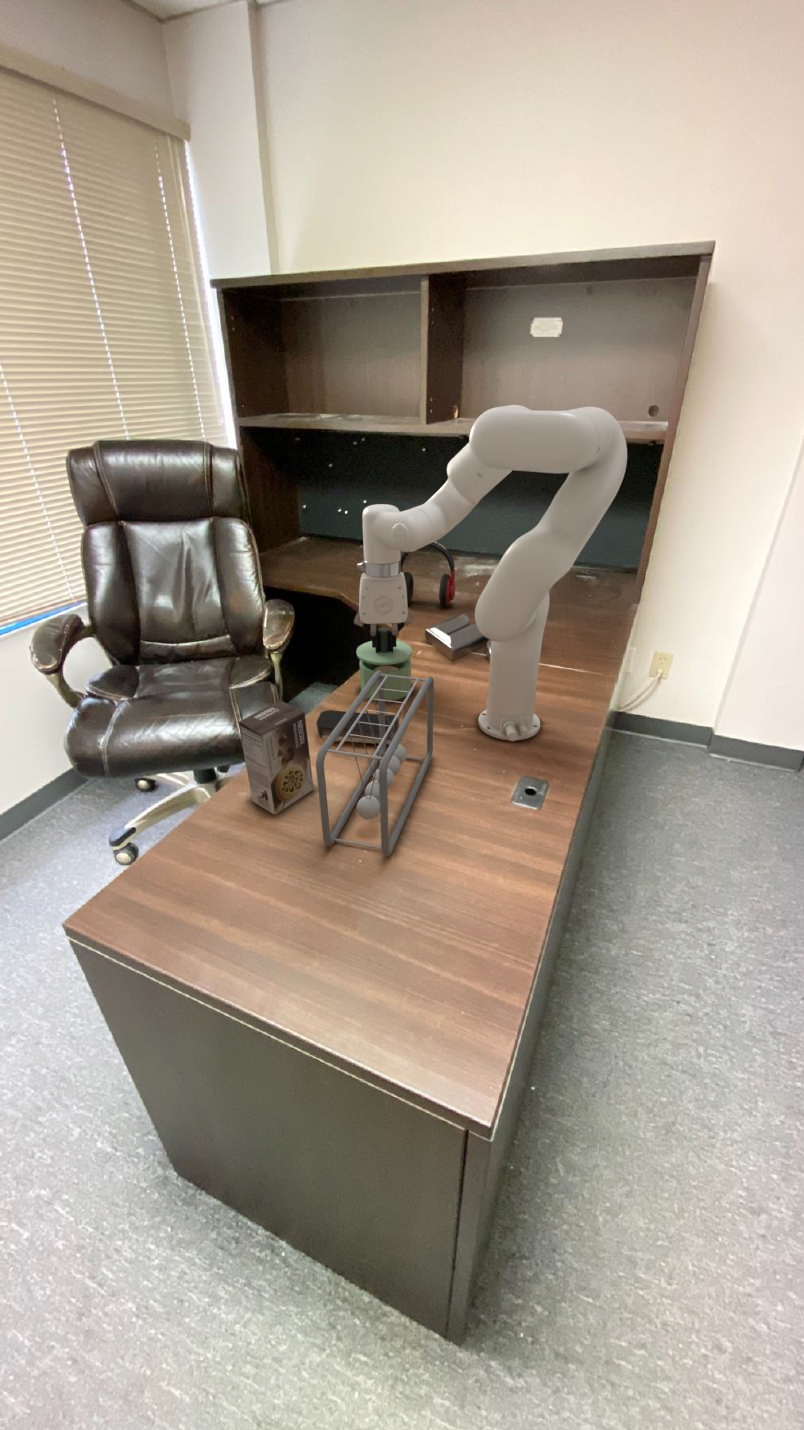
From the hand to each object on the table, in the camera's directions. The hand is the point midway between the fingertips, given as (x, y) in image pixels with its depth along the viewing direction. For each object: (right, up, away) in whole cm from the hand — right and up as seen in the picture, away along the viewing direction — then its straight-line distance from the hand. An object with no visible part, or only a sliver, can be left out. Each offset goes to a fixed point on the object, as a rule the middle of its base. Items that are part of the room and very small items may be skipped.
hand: (384, 649), depth 134 cm
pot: (0, -9, +5) cm, 10 cm away
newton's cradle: (+1, -29, -29) cm, 41 cm away
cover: (0, -1, 0) cm, 1 cm away
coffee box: (-17, -29, -28) cm, 44 cm away
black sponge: (-5, -19, -11) cm, 23 cm away
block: (0, -9, +5) cm, 10 cm away
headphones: (+11, +20, +55) cm, 60 cm away
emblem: (+24, +5, +29) cm, 38 cm away
